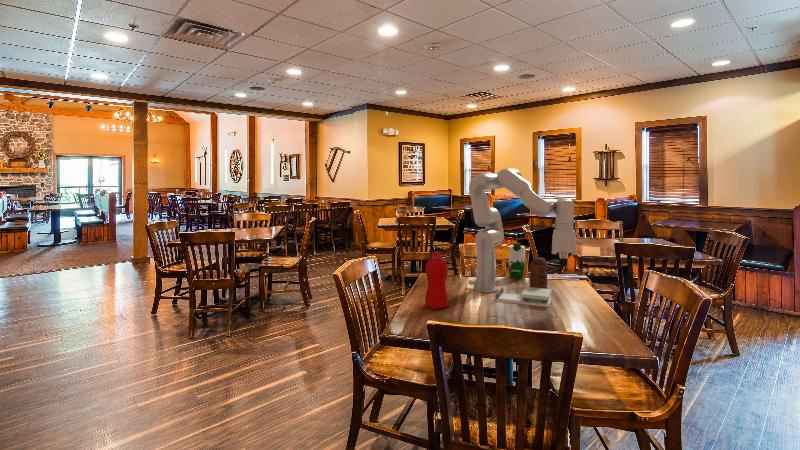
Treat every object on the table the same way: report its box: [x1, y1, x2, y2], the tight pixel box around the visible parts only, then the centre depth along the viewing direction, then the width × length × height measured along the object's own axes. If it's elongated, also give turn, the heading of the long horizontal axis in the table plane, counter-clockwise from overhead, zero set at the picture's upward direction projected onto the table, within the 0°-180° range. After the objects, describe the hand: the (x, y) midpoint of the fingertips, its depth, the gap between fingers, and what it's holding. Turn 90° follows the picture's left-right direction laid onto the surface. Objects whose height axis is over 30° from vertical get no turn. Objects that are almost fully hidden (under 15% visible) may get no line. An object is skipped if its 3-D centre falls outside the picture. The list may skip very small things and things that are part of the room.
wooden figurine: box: [529, 256, 548, 289], centre depth 224 cm, size 12×6×18 cm, turn 18°
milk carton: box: [508, 242, 526, 279], centre depth 258 cm, size 9×9×20 cm
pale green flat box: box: [520, 286, 552, 303], centre depth 209 cm, size 12×14×3 cm
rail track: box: [494, 287, 552, 308], centre depth 212 cm, size 24×13×3 cm, turn 66°
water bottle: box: [424, 251, 449, 310], centre depth 201 cm, size 9×11×25 cm
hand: (563, 266), depth 203 cm, fingers closed
